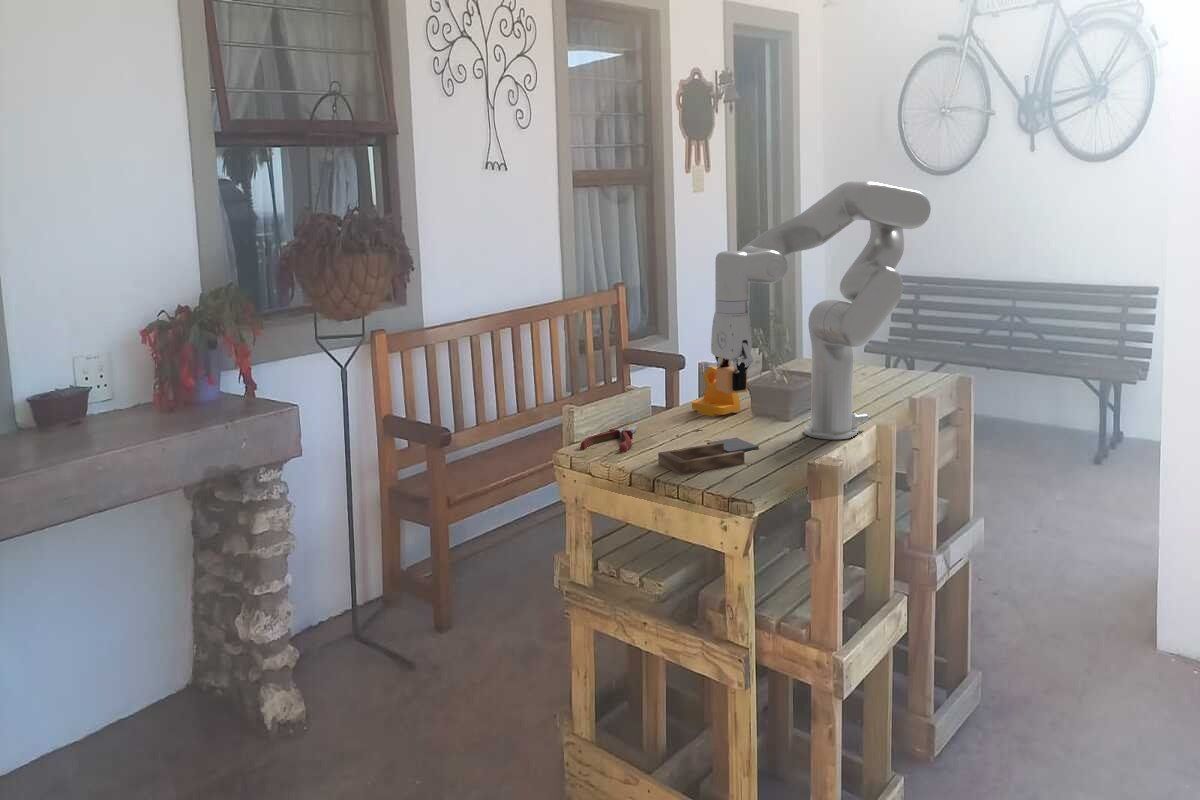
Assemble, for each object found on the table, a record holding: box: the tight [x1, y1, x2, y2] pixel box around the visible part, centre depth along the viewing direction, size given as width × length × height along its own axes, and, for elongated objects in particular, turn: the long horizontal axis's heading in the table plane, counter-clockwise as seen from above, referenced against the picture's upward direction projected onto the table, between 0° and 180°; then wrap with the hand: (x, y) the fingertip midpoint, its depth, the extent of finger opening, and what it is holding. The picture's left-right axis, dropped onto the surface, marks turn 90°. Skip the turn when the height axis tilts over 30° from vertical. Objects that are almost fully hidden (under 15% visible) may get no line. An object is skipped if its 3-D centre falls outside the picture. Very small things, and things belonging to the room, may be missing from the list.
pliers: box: [580, 425, 639, 453], centre depth 246 cm, size 12×20×3 cm, turn 158°
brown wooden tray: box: [657, 442, 745, 475], centre depth 225 cm, size 16×9×2 cm, turn 116°
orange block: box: [716, 365, 748, 394], centre depth 234 cm, size 5×5×5 cm
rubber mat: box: [706, 437, 759, 454], centre depth 237 cm, size 8×9×1 cm
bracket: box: [691, 365, 741, 417], centre depth 269 cm, size 11×7×12 cm, turn 43°
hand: (732, 386), depth 234 cm, fingers closed on orange block, 5 cm apart
